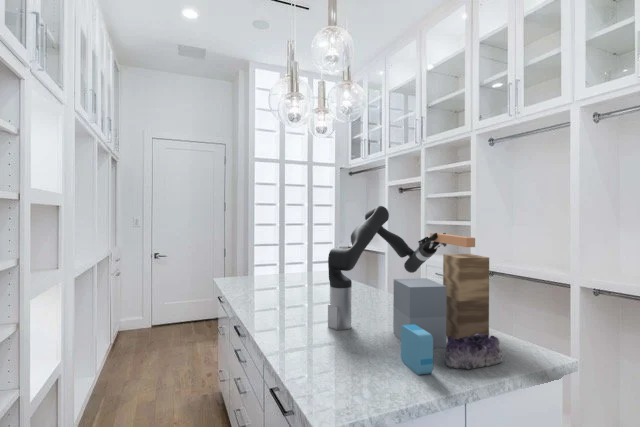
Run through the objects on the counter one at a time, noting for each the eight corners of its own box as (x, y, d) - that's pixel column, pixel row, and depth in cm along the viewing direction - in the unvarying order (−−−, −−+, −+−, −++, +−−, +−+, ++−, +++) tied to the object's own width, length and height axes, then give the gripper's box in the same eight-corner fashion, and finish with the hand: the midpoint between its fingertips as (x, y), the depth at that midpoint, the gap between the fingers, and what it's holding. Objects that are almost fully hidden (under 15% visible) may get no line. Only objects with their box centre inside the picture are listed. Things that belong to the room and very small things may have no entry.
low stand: (446, 347, 127) (446, 286, 127) (409, 349, 125) (409, 287, 125) (426, 332, 143) (426, 278, 143) (393, 333, 141) (393, 279, 141)
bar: (475, 247, 133) (475, 237, 133) (466, 247, 133) (466, 237, 133) (437, 240, 163) (437, 233, 163) (429, 240, 162) (430, 233, 162)
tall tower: (488, 342, 132) (489, 257, 132) (459, 344, 130) (459, 258, 130) (470, 332, 143) (470, 253, 143) (442, 333, 142) (443, 254, 142)
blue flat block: (433, 375, 105) (433, 335, 105) (419, 376, 104) (419, 336, 104) (412, 359, 117) (413, 322, 117) (400, 360, 115) (400, 323, 115)
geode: (464, 377, 104) (460, 342, 105) (436, 367, 114) (433, 335, 115) (511, 362, 112) (506, 330, 114) (481, 354, 123) (477, 325, 124)
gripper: (410, 243, 171) (424, 227, 156) (437, 243, 173) (453, 227, 159) (413, 257, 167) (427, 242, 153) (441, 257, 170) (458, 242, 155)
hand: (441, 234), depth 156 cm, fingers closed on bar, 3 cm apart
